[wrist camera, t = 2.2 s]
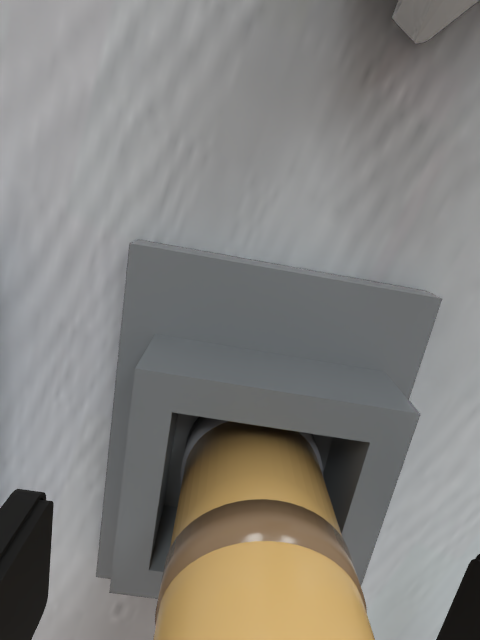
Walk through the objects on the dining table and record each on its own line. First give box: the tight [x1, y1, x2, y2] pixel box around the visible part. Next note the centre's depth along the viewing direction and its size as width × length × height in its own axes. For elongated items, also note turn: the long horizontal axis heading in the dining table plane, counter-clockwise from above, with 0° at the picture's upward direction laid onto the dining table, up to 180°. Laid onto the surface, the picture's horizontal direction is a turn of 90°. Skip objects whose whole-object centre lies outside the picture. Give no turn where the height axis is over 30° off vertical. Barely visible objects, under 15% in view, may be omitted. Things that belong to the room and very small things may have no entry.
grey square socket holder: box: [96, 240, 442, 599], centre depth 12 cm, size 12×9×4 cm
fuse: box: [153, 417, 375, 640], centre depth 8 cm, size 4×4×10 cm
